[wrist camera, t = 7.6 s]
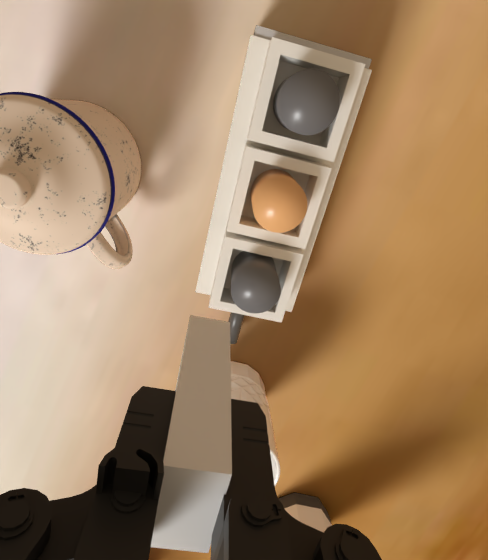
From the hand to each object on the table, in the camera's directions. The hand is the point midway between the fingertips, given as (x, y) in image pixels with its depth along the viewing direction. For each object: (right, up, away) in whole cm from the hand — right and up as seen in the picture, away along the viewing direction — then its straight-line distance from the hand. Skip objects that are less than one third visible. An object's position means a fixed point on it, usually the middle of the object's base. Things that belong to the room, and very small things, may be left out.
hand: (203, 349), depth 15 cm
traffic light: (+3, +8, +17) cm, 19 cm away
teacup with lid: (-10, +11, +16) cm, 22 cm away
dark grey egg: (+2, +3, +15) cm, 16 cm away
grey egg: (+5, +14, +11) cm, 18 cm away
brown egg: (+4, +9, +13) cm, 16 cm away
